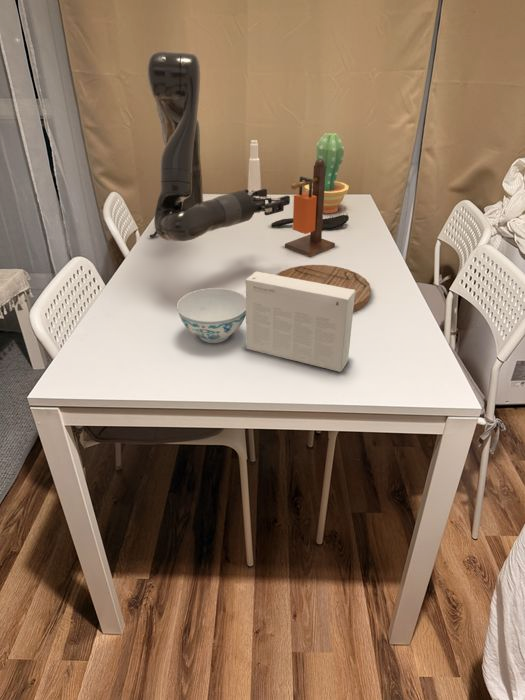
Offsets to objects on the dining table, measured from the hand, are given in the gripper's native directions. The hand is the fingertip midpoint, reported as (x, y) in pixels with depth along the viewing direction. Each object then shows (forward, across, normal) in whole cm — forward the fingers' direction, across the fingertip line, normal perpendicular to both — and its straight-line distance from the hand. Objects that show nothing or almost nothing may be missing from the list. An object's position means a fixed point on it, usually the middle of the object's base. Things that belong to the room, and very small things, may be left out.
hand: (277, 196), depth 142 cm
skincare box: (-31, -37, +19) cm, 52 cm away
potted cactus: (+44, +20, +18) cm, 52 cm away
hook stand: (+13, 0, +18) cm, 22 cm away
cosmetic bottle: (+29, +40, +18) cm, 53 cm away
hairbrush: (+28, +12, +18) cm, 35 cm away
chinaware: (-38, -19, +19) cm, 47 cm away
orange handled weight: (+11, 0, +12) cm, 17 cm away
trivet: (-6, -21, +19) cm, 29 cm away
